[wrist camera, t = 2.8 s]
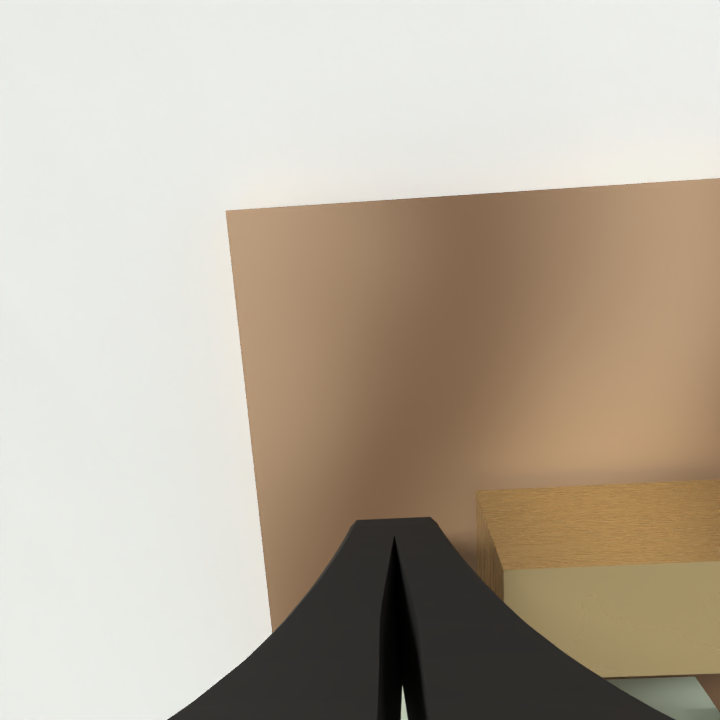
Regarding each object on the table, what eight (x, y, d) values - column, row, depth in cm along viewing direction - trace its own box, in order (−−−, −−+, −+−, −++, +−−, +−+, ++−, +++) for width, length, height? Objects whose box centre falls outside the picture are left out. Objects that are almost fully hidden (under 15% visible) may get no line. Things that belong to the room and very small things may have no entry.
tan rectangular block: (734, 478, 11) (837, 556, 8) (726, 570, 11) (823, 670, 9) (475, 491, 11) (503, 570, 9) (477, 580, 11) (504, 680, 9)
